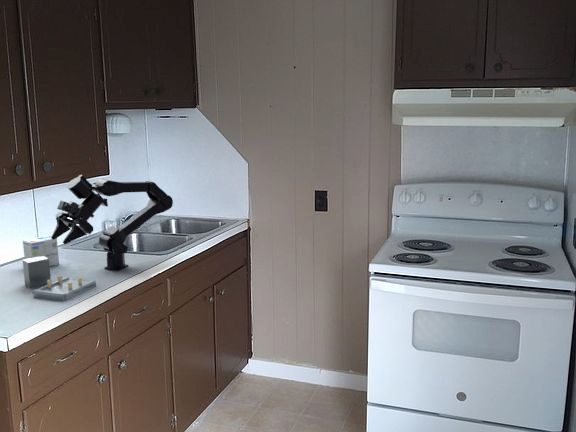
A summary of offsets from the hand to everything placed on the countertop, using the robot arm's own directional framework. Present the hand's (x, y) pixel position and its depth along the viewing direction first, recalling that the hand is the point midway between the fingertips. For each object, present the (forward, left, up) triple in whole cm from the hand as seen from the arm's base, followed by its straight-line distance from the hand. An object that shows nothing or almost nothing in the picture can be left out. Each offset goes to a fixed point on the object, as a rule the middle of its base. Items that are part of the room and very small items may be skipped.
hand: (57, 241), depth 202 cm
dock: (+9, +10, -14) cm, 19 cm away
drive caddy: (+7, -4, -14) cm, 16 cm away
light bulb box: (-11, -19, -14) cm, 27 cm away
